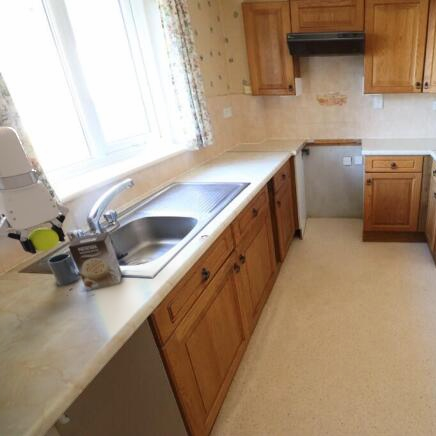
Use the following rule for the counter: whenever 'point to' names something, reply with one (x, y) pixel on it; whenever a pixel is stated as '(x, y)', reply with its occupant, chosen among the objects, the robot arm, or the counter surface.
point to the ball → (44, 239)
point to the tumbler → (63, 269)
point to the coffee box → (96, 260)
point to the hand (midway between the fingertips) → (46, 245)
